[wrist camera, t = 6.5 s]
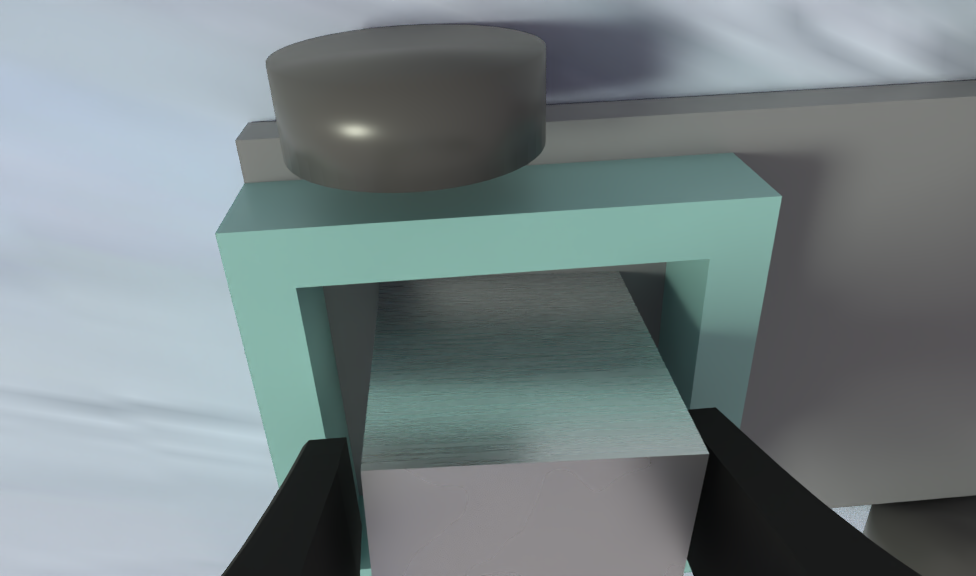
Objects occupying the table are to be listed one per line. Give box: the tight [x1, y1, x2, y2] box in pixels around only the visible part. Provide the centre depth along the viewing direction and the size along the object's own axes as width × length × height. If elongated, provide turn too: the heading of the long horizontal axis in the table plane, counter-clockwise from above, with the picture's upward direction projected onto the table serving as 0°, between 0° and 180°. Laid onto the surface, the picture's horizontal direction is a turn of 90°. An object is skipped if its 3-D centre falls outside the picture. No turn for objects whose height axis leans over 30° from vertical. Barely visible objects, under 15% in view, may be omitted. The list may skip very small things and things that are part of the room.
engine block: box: [361, 271, 709, 576], centre depth 12 cm, size 4×4×5 cm
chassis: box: [215, 24, 976, 576], centre depth 14 cm, size 13×18×4 cm
